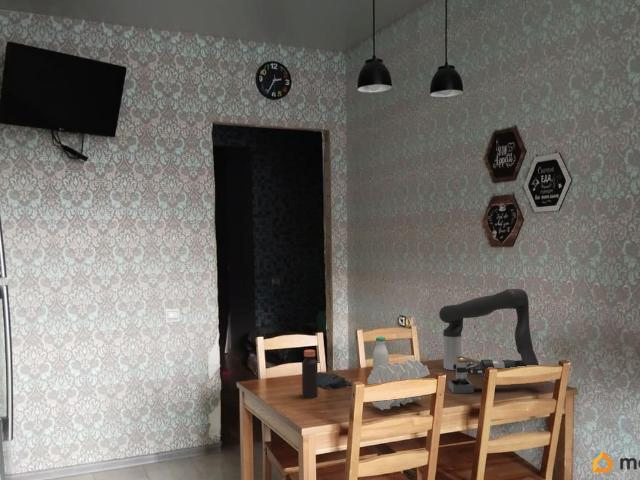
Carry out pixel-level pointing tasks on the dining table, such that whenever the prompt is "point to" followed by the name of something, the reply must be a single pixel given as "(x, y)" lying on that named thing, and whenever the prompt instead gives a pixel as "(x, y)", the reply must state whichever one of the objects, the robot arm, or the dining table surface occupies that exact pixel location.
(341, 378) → the dark slate chunk
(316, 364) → the vinegar
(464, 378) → the grey cylinder
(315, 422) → the dining table surface
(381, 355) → the milk bottle
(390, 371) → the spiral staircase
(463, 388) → the socket
